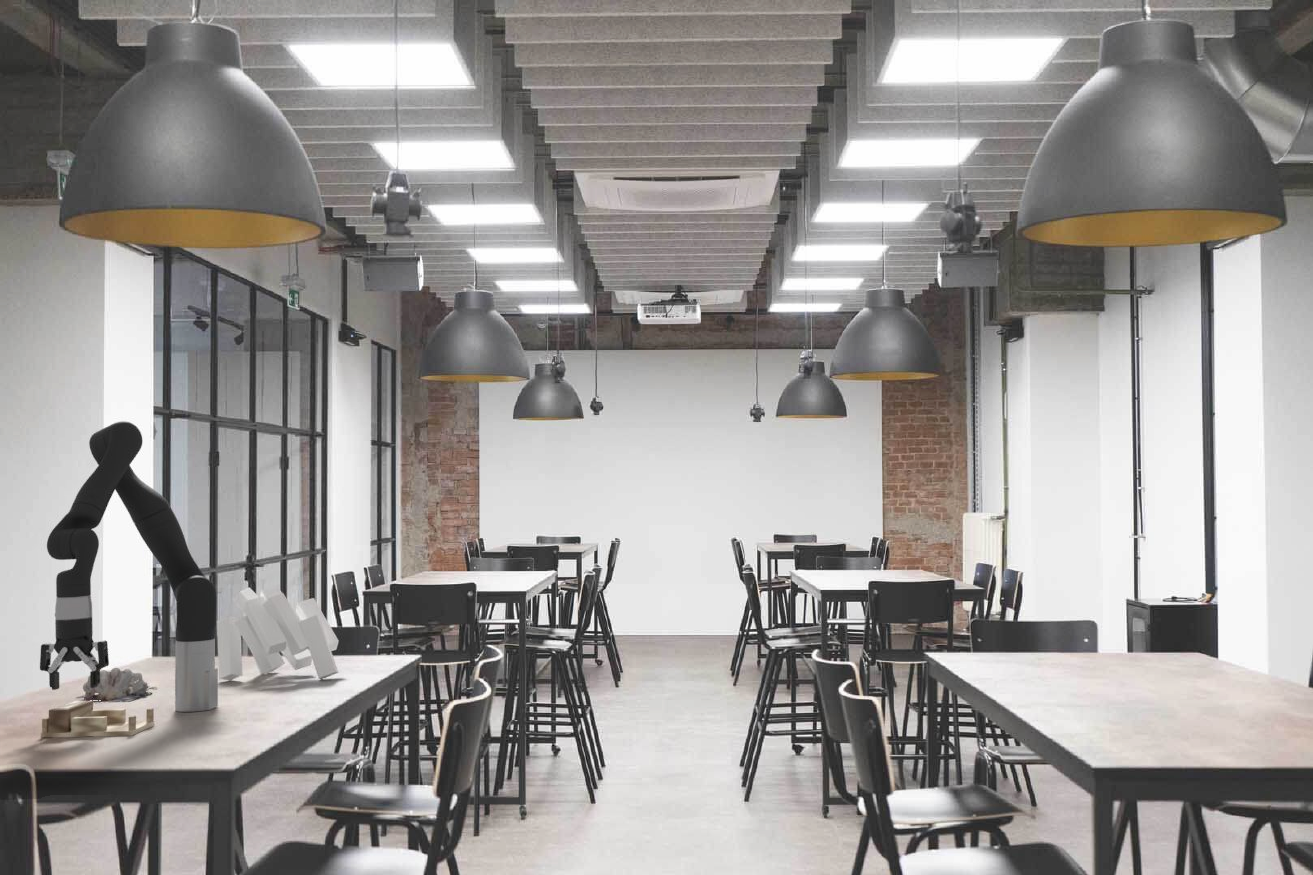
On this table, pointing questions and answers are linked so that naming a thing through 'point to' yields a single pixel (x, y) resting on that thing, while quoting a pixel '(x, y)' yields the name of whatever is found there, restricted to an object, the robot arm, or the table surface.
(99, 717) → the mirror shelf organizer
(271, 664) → the pile of blocks
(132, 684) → the grey rough lump
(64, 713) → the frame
